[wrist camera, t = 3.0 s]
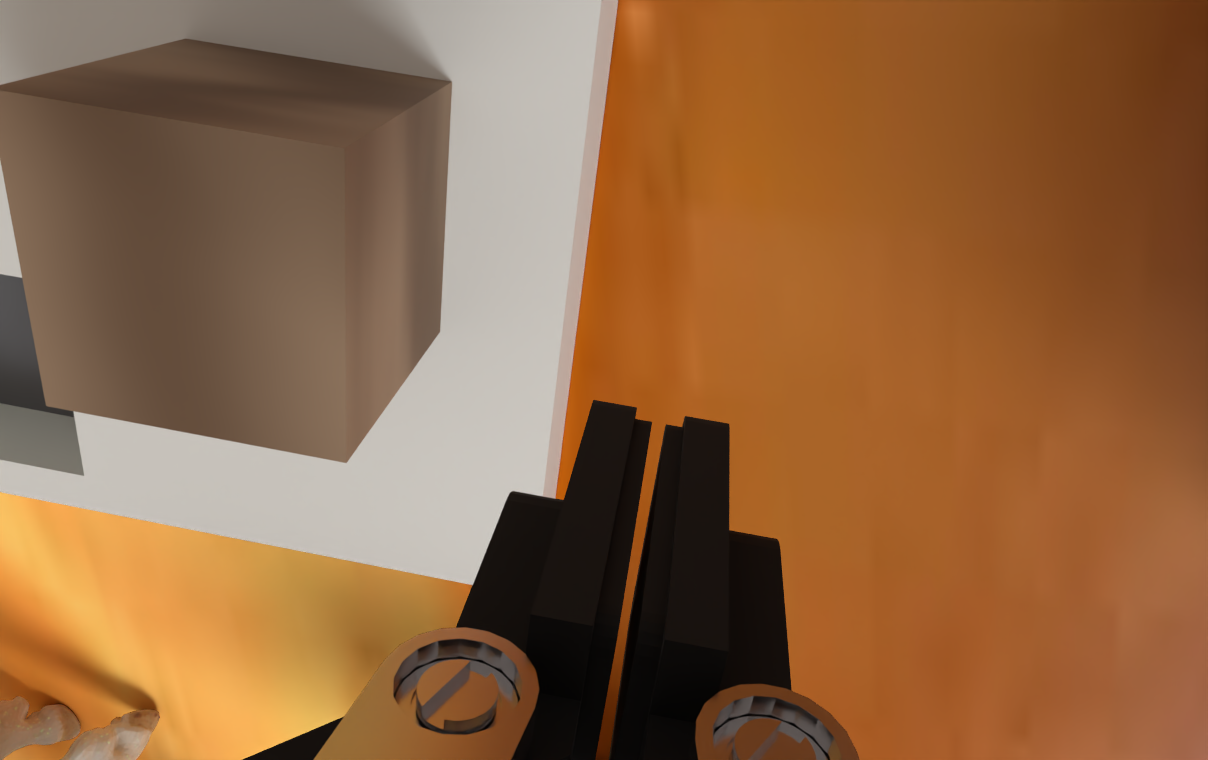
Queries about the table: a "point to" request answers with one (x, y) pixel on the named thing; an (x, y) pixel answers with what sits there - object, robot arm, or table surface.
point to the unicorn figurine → (74, 731)
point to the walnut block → (229, 239)
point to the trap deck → (469, 289)
